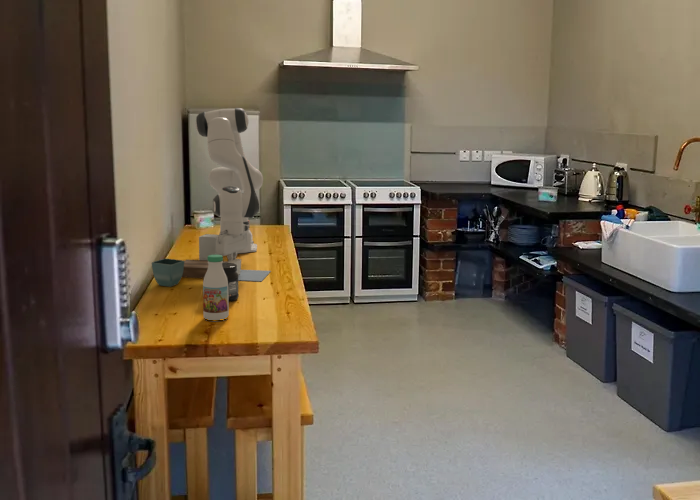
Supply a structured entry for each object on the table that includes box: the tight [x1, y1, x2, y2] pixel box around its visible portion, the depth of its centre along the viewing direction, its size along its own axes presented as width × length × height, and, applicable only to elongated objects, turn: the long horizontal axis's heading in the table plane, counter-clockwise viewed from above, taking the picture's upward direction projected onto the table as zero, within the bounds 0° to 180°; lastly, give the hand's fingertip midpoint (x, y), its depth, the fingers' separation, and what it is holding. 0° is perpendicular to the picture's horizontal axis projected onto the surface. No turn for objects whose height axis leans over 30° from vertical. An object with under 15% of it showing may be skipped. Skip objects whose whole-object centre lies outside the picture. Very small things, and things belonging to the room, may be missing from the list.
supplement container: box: [222, 262, 239, 302], centre depth 235 cm, size 10×10×12 cm
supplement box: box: [198, 233, 219, 260], centre depth 288 cm, size 7×7×13 cm
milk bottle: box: [202, 255, 230, 320], centre depth 211 cm, size 8×8×20 cm
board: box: [182, 259, 228, 279], centre depth 272 cm, size 14×18×4 cm
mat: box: [238, 269, 272, 283], centre depth 271 cm, size 18×15×1 cm
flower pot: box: [151, 258, 185, 287], centre depth 253 cm, size 9×9×9 cm
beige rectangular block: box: [228, 258, 242, 275], centre depth 268 cm, size 9×6×2 cm
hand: (232, 263), depth 271 cm, fingers closed
